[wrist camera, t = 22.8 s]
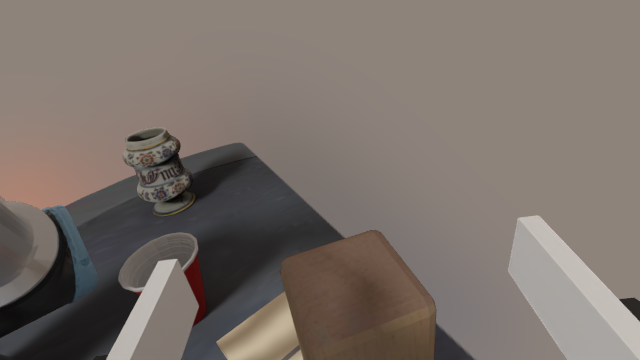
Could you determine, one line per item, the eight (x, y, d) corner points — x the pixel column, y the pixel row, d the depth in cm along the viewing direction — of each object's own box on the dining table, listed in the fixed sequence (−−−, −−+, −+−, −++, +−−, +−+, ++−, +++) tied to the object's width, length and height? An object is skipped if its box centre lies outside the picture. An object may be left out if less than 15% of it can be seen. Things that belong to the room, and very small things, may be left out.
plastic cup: (158, 296, 58) (128, 240, 52) (223, 280, 59) (201, 224, 53) (141, 355, 49) (103, 296, 43) (219, 335, 50) (193, 275, 44)
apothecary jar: (202, 186, 89) (178, 119, 80) (196, 212, 78) (168, 139, 69) (154, 195, 88) (124, 129, 79) (141, 224, 77) (105, 151, 68)
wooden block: (386, 352, 43) (378, 223, 33) (434, 439, 34) (442, 302, 24) (309, 383, 41) (275, 256, 31) (339, 484, 32) (306, 354, 22)
